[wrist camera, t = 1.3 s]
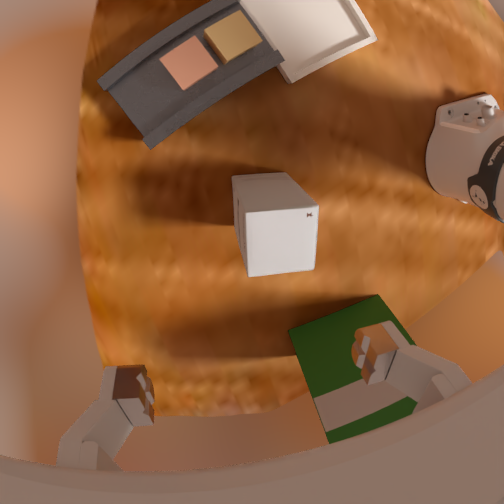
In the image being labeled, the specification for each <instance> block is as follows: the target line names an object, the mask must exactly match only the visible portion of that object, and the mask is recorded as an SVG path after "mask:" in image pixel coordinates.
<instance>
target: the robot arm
mask: <svg viewBox="0 0 504 504" xmlns="http://www.w3.org/2000/svg"><path fill="white" fill-rule="evenodd" d="M426 171H427V175H428V179H429V181H430V183H431V185H432V187H433V188H434V190H435V191H436V192H438V193H439V194H440V195H443V196H446V197H451V198H455V199H458V200H459V201H461V202H463V203H469V204H471V205H474V206H476V207H479V208H480V209H481V210H483V211H484V212H485V213H486V214H488V215H490V216H491V217H493V218H495V219H496V220H497V221H500V222H502V223H504V111H503V110H500V109H499V106H498V104H497V102H496V100H495V99H494V98H493V96H492V95H490V94H482V95H478V96H475V97H471V98H467V99H463V100H460V101H456V102H452V103H449V104H445V105H442V106H440V107H438V109H437V112H436V120H435V127H434V130H433V132H432V134H431V137H430V139H429V142H428V146H427V151H426ZM354 337H355V338H356V341H355V342H354V343H353V344H352V349H351V352H352V358H353V361H354V363H355V365H356V366H357V367H359V368H361V369H362V370H361V375H362V377H363V379H364V381H365V382H366V384H367V386H368V385H371V384H375V383H378V382H381V381H384V380H386V382H387V383H389V384H390V385H392V386H393V387H395V388H396V389H398V390H399V391H401V392H403V393H404V394H406V395H407V396H409V397H410V398H412V399H413V400H415V401H416V402H418V403H417V405H416V407H415V409H414V410H413V413H412V414H411V415H409V416H407V417H404V418H402V419H400V420H397V421H395V422H392V423H390V424H387V425H385V426H382V427H379V428H377V429H374V430H371V431H368V432H366V433H363V434H360V435H357V436H354V437H351V438H348V439H345V440H342V441H338V442H335V443H332V444H328V445H325V446H321V447H317V448H314V449H310V450H306V451H302V452H298V453H294V454H290V455H285V456H281V457H276V458H271V459H266V460H261V461H255V462H249V463H244V464H236V465H230V466H222V467H214V468H204V469H193V470H180V471H154V472H126V471H125V472H124V471H123V470H122V469H121V468H120V467H119V466H118V465H117V464H116V463H115V462H114V461H113V458H114V457H115V455H116V454H117V452H118V451H119V449H120V448H121V446H122V445H123V443H124V441H125V440H126V438H127V437H128V435H129V434H130V432H131V430H132V429H133V426H147V425H154V409H153V407H152V404H153V402H154V388H153V384H152V381H151V379H150V378H149V377H147V370H146V368H145V365H123V366H106V367H105V369H104V373H103V378H102V384H101V389H100V395H99V400H95V401H94V402H93V403H92V404H91V405H90V406H89V407H88V409H87V410H86V411H85V412H84V413H83V414H82V415H81V416H80V417H79V418H78V420H77V421H76V422H75V423H74V424H73V425H72V426H71V427H70V428H69V430H68V431H67V432H66V433H65V434H64V435H63V436H62V437H61V439H60V444H59V451H58V456H57V462H56V466H53V465H47V464H41V463H36V462H30V461H25V460H20V459H16V458H11V457H7V456H3V455H0V504H504V365H502V366H501V367H499V368H498V369H496V370H495V371H493V372H491V373H490V374H488V375H486V376H485V377H483V378H482V379H480V380H478V381H476V382H475V383H473V384H472V382H471V381H470V380H469V378H468V377H467V376H466V374H465V373H464V372H463V371H462V369H461V368H460V367H459V366H458V364H456V363H453V362H451V361H449V360H446V359H444V358H442V357H440V356H438V355H435V354H433V353H431V352H429V351H426V350H424V349H422V348H420V347H417V346H415V345H410V344H409V343H408V342H407V340H406V339H405V338H404V336H403V335H402V334H401V333H400V331H399V330H398V329H397V328H396V326H395V325H394V324H393V322H391V321H386V322H382V323H379V324H374V325H371V326H367V327H363V328H359V329H357V330H356V331H355V335H354Z"/></svg>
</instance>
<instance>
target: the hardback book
mask: <svg viewBox="0 0 504 504" xmlns="http://www.w3.org/2000/svg"><path fill="white" fill-rule="evenodd" d="M386 321H391V322H393V324H394V325H395V326H396V328H397V329H398V330H399V331H400V333H401V334H402V335H403V336H404V338H405V339H406V340H407V342H408V343H409V344H410V345H415V346H417V345H416V344H415V343H414V341H413V340H412V339H411V337H410V336H409V334H408V333H407V332H406V330H405V329H404V328H403V326H402V325H401V324H400V322H399V321H398V320H397V318H396V317H395V316H394V314H393V313H392V312H391V310H390V309H389V308H388V306H387V305H386V304H385V303H384V301H383V300H382V299H381V297H380V296H379V295H378V294H377V295H375V296H373V297H371V298H368V299H366V300H364V301H361V302H359V303H357V304H354V305H352V306H349V307H347V308H344V309H342V310H340V311H337V312H335V313H332V314H330V315H327V316H325V317H322V318H320V319H317V320H314V321H312V322H309V323H307V324H304V325H301V326H299V327H296V328H293V329H291V330H288V332H289V335H290V337H291V340H292V343H293V346H294V348H295V351H296V355H297V358H298V360H299V363H300V366H301V369H302V371H303V374H304V377H305V379H306V382H307V385H308V387H309V390H310V393H311V396H312V398H313V401H314V404H315V406H316V409H317V412H318V415H319V417H320V420H321V423H322V425H323V428H324V431H325V433H326V436H327V439H328V442H329V444H332V443H335V442H338V441H342V440H345V439H348V438H351V437H354V436H357V435H360V434H363V433H366V432H368V431H371V430H374V429H377V428H379V427H382V426H385V425H387V424H390V423H392V422H395V421H397V420H400V419H402V418H404V417H407V416H409V415H411V414H412V413H413V410H414V409H415V407H416V405H417V403H418V402H416V401H415V400H413V399H412V398H410V397H409V396H407V395H406V394H404V393H403V392H401V391H399V390H398V389H396V388H395V387H393V386H392V385H390V384H389V383H387V382H386V380H384V381H381V382H378V383H375V384H371V385H368V386H367V384H366V382H365V381H364V379H363V377H362V375H361V370H362V369H361V368H359V367H357V366H356V365H355V363H354V361H353V358H352V352H351V349H352V344H353V343H354V342H355V341H356V338H355V337H354V335H355V331H356V330H357V329H359V328H363V327H367V326H371V325H374V324H379V323H382V322H386Z"/></svg>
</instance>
